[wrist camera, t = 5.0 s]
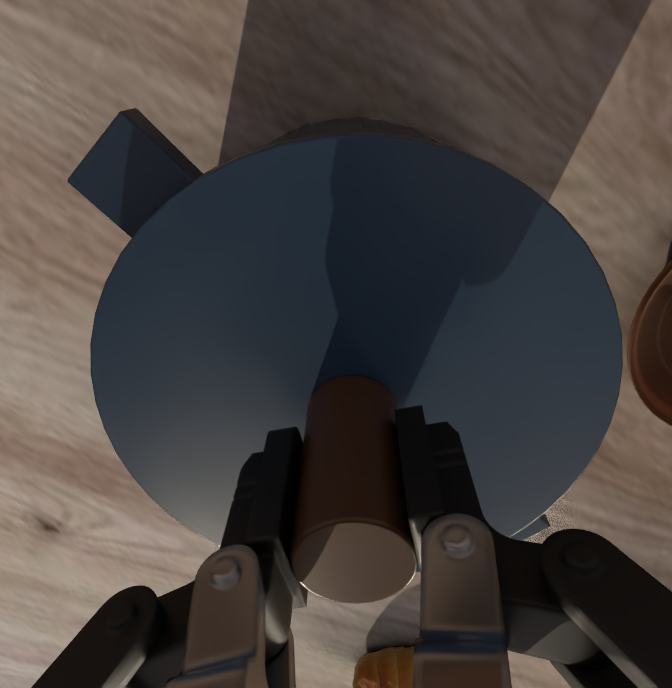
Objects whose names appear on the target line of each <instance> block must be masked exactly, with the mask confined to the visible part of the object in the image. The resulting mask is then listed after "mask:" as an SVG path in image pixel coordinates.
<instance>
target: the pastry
mask: <svg viewBox="0 0 672 688" xmlns="http://www.w3.org/2000/svg"><path fill="white" fill-rule="evenodd" d="M413 654H414V647H413V646H411V647H409V648H405V647H403V646H401V647H389V648H386V649H381V650H380V651H377V652H373V653H366V654H365V655H364V656H363V657H361V658H360V659H359V660H358V662H357V664H356V666H355V671H354V680H353V688H412V685H413Z"/></svg>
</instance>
